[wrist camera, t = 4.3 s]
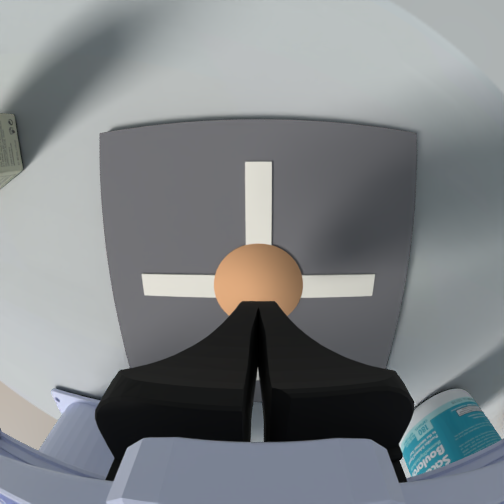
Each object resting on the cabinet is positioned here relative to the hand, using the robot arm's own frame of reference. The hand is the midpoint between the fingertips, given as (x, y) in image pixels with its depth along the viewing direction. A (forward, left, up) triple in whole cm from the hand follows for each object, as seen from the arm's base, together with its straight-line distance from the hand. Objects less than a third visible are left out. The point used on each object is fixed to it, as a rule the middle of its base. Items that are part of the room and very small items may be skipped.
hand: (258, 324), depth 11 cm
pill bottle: (-13, -15, -5) cm, 20 cm away
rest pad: (0, 0, -4) cm, 4 cm away
